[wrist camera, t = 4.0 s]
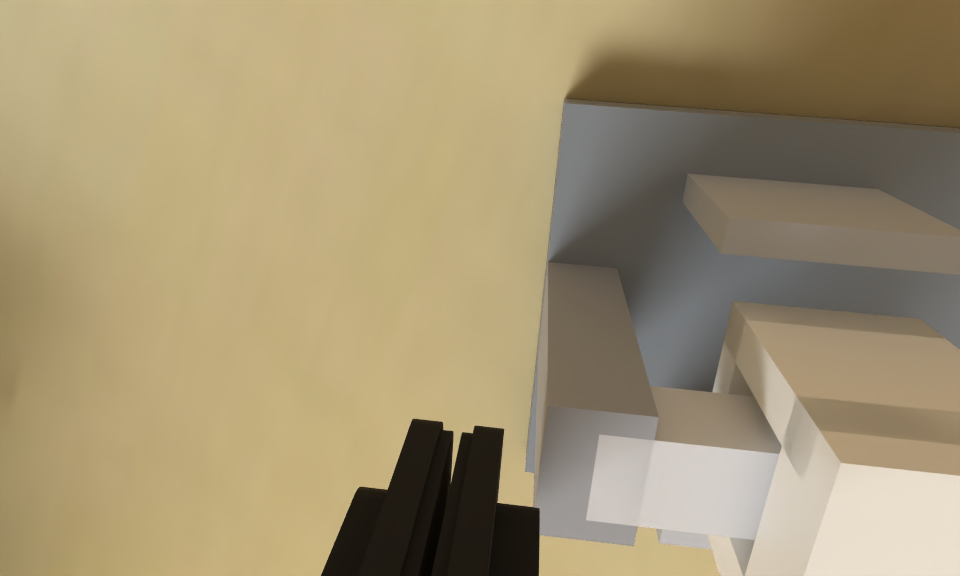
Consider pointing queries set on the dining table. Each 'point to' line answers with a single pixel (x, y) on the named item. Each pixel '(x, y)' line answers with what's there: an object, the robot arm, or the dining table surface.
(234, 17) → the dining table surface
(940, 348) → the sleeve
